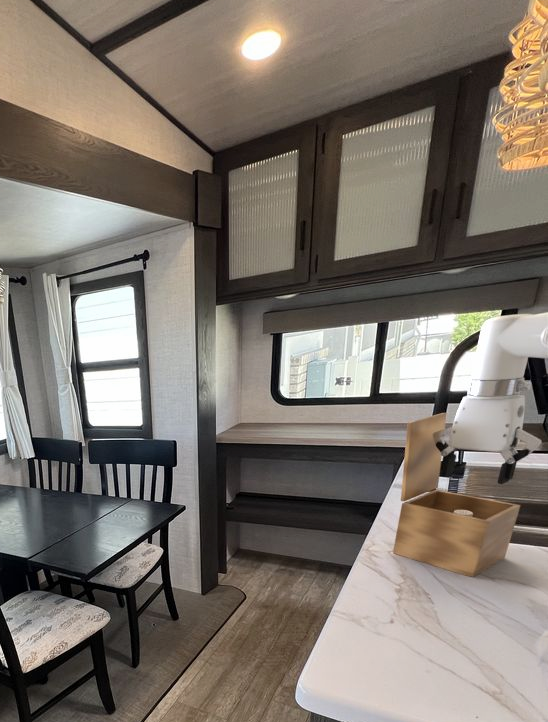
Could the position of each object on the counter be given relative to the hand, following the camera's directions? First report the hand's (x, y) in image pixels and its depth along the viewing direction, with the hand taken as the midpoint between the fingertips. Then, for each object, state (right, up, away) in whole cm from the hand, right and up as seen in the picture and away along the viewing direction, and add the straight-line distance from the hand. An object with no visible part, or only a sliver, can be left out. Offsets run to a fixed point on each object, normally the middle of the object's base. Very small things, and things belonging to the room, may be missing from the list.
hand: (473, 478), depth 93 cm
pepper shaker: (+1, -15, +7) cm, 17 cm away
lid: (-5, +6, +6) cm, 10 cm away
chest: (+1, -16, +8) cm, 18 cm away
